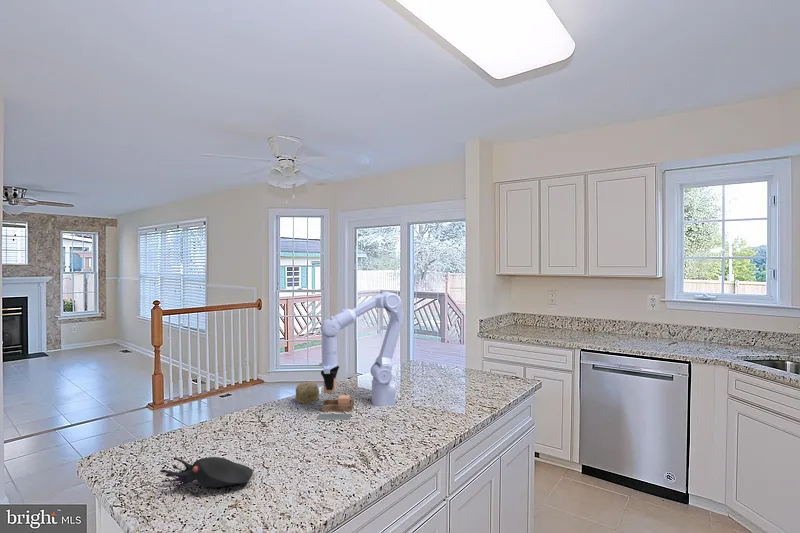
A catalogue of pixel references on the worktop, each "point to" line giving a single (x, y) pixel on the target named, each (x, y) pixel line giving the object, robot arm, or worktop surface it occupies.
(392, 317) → the robot arm
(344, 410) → the walnut bin
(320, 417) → the slate board
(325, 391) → the tan cube
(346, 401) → the peach cube
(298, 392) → the coral
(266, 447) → the worktop surface
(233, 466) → the toy
